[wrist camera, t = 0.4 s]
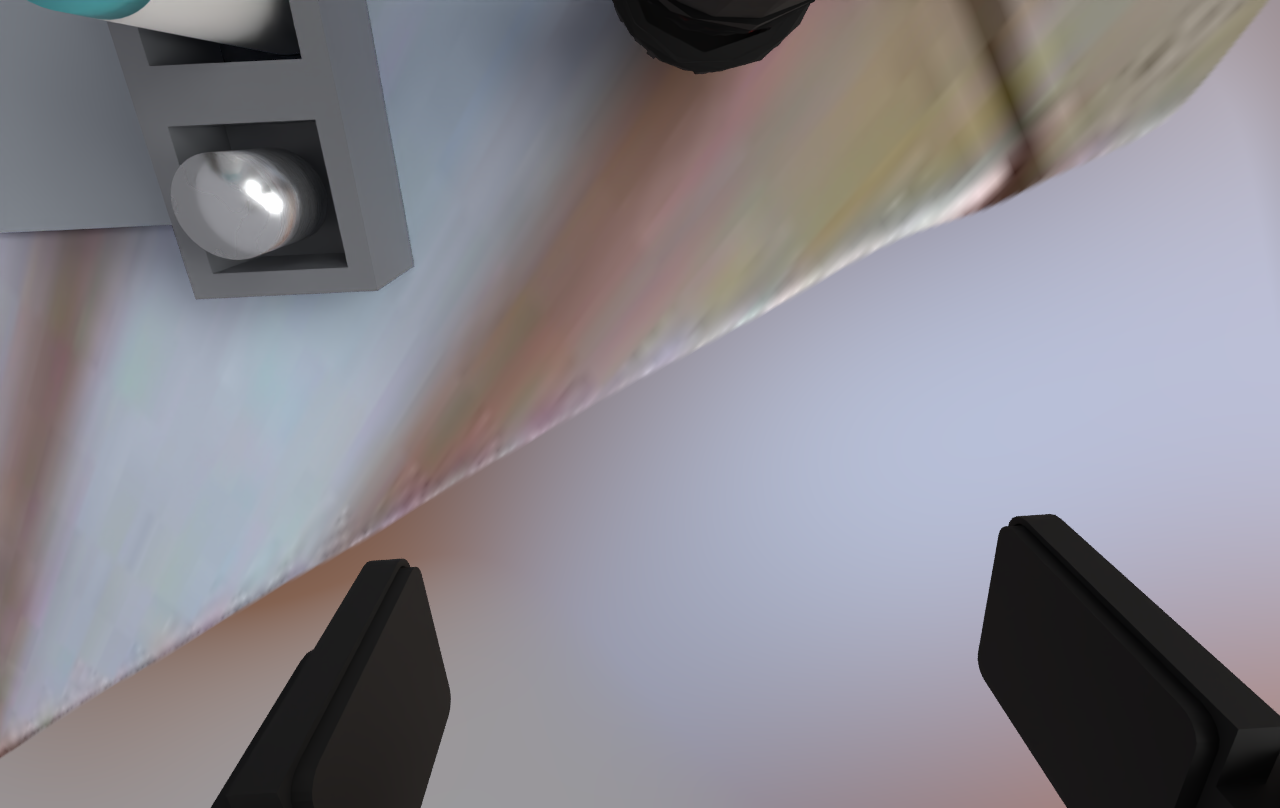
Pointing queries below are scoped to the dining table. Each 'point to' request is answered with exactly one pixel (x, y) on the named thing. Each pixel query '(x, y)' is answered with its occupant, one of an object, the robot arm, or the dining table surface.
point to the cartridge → (198, 19)
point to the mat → (69, 128)
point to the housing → (280, 145)
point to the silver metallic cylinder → (248, 201)
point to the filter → (710, 29)
